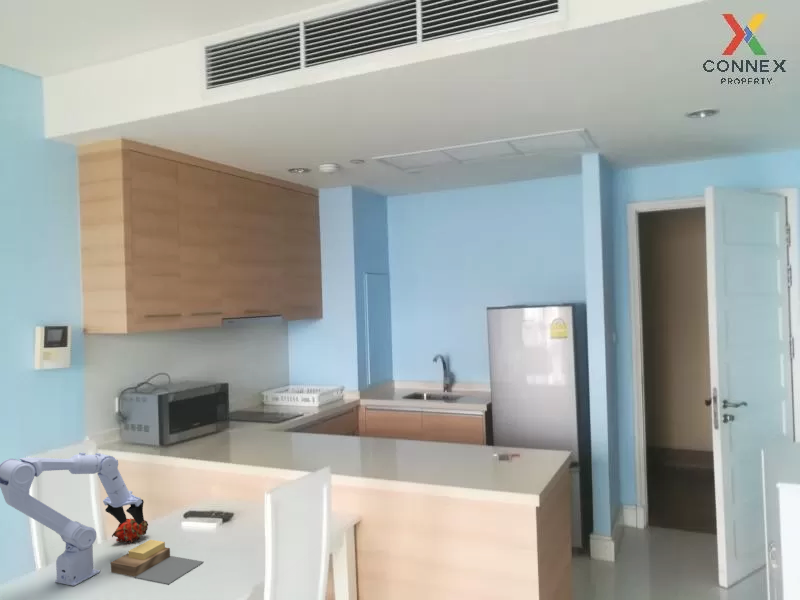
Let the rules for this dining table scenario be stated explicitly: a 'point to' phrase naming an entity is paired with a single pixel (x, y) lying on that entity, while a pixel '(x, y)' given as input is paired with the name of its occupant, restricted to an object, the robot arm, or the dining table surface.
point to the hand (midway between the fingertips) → (132, 521)
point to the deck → (137, 563)
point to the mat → (169, 570)
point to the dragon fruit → (130, 530)
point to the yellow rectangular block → (146, 549)
